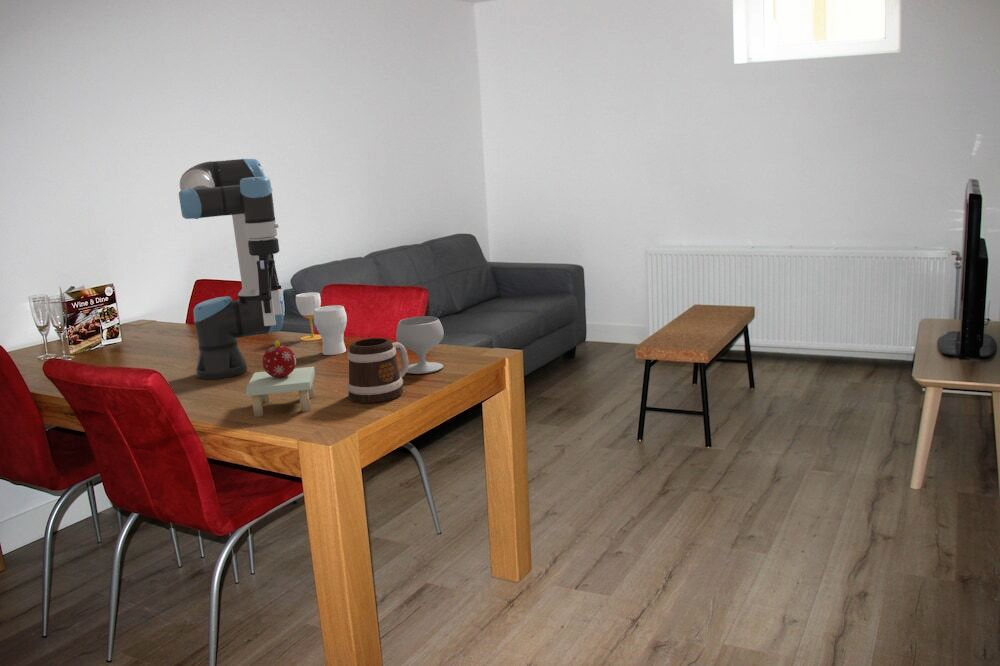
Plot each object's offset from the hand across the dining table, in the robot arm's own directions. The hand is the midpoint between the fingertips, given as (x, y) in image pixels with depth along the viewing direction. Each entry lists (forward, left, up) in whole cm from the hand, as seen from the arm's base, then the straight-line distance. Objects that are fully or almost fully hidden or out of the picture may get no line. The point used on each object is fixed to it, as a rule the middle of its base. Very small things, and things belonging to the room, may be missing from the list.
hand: (273, 319), depth 221 cm
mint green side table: (0, 0, -24) cm, 24 cm away
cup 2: (+1, +83, -24) cm, 86 cm away
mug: (+26, +2, -24) cm, 35 cm away
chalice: (+38, +23, -24) cm, 50 cm away
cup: (+10, +57, -24) cm, 62 cm away
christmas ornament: (0, 0, -16) cm, 16 cm away
